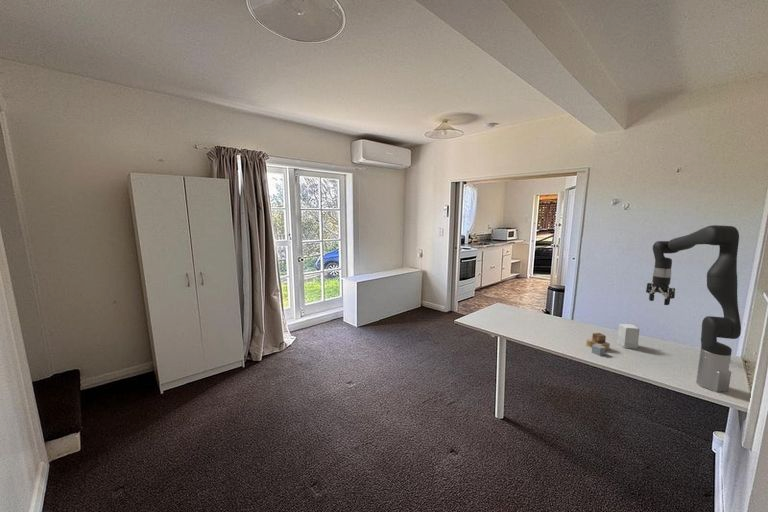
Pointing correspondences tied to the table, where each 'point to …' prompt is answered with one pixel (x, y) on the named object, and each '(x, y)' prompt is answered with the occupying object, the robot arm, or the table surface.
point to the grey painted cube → (598, 349)
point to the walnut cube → (598, 338)
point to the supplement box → (628, 336)
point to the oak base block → (590, 343)
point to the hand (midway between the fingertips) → (658, 302)
